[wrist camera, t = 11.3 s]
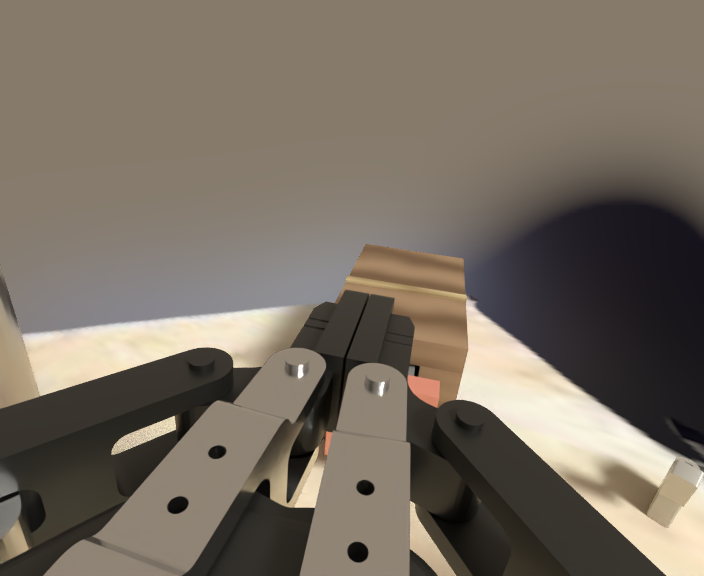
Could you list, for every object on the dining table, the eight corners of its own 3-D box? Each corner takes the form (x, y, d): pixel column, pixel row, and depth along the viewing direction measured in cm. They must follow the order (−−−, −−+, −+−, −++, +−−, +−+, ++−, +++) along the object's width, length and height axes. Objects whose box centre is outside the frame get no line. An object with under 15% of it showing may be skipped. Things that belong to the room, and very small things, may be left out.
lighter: (658, 488, 41) (695, 423, 37) (679, 501, 40) (720, 435, 36) (634, 535, 36) (674, 466, 33) (658, 551, 35) (701, 481, 32)
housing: (441, 464, 41) (469, 346, 35) (316, 436, 43) (324, 320, 37) (444, 348, 59) (464, 256, 53) (356, 332, 61) (365, 242, 55)
